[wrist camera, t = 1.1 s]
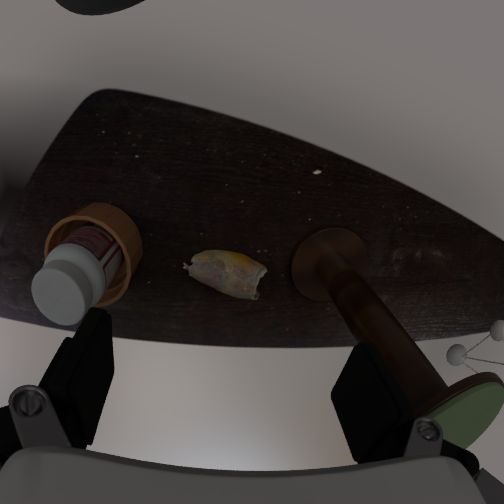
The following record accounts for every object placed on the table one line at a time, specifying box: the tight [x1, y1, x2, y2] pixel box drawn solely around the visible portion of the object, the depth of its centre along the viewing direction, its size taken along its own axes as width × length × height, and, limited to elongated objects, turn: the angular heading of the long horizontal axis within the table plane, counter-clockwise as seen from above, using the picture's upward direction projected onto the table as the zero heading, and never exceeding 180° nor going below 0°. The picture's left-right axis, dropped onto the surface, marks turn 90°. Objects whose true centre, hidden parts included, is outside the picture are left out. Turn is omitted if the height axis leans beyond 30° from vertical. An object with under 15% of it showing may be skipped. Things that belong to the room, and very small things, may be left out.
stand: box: [290, 225, 504, 419], centre depth 24 cm, size 9×9×24 cm
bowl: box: [44, 202, 142, 307], centre depth 29 cm, size 9×9×6 cm
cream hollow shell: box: [183, 250, 267, 300], centre depth 32 cm, size 8×4×5 cm, turn 83°
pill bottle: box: [32, 221, 125, 325], centre depth 26 cm, size 6×6×11 cm
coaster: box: [425, 382, 504, 449], centre depth 12 cm, size 9×9×1 cm
